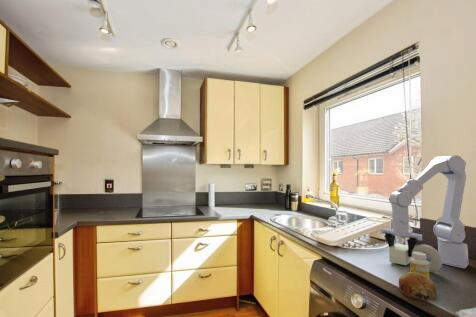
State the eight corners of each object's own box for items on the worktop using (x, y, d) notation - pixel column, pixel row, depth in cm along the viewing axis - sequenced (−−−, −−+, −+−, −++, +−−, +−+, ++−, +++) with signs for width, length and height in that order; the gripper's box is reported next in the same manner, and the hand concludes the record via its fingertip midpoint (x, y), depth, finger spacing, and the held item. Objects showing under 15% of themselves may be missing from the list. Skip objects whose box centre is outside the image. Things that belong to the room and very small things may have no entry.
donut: (409, 267, 102) (409, 242, 102) (414, 266, 104) (413, 240, 104) (440, 277, 93) (439, 248, 94) (444, 275, 95) (443, 247, 96)
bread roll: (438, 306, 81) (438, 279, 83) (434, 304, 74) (435, 274, 77) (400, 296, 87) (402, 271, 90) (394, 292, 80) (396, 265, 83)
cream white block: (396, 255, 112) (396, 243, 112) (412, 259, 108) (412, 246, 108) (389, 261, 106) (389, 248, 106) (405, 265, 102) (405, 251, 102)
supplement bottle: (430, 286, 86) (429, 257, 86) (410, 282, 89) (410, 254, 89) (428, 280, 91) (428, 252, 91) (410, 277, 93) (409, 250, 94)
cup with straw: (388, 248, 126) (387, 207, 126) (401, 246, 129) (400, 206, 130) (405, 254, 118) (404, 209, 119) (418, 251, 121) (417, 208, 122)
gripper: (377, 219, 110) (378, 252, 110) (418, 225, 99) (419, 261, 99) (384, 217, 115) (384, 248, 115) (423, 222, 104) (424, 257, 104)
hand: (401, 254), depth 107 cm, fingers closed on cream white block, 6 cm apart
